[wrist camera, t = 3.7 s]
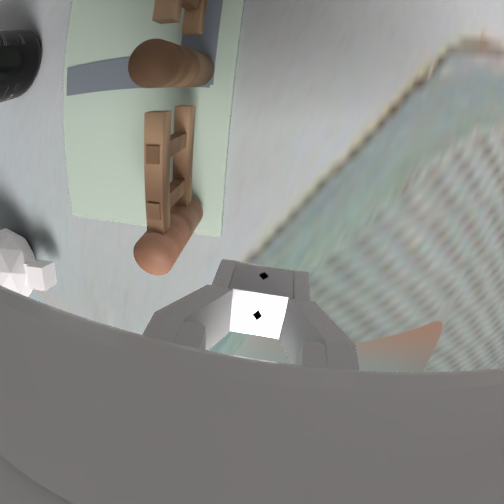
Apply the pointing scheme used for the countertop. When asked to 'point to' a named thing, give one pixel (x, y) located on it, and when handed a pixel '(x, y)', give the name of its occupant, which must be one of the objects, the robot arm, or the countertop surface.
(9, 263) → the perfume bottle
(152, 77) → the fence fixed
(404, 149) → the countertop surface
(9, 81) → the supplement bottle
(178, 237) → the fence gate
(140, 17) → the mat
